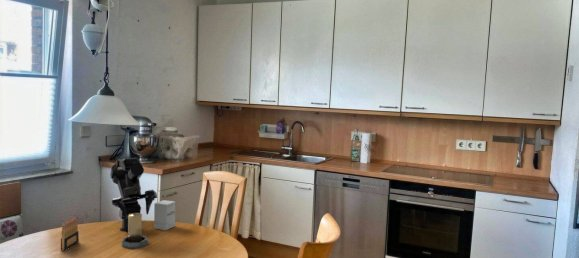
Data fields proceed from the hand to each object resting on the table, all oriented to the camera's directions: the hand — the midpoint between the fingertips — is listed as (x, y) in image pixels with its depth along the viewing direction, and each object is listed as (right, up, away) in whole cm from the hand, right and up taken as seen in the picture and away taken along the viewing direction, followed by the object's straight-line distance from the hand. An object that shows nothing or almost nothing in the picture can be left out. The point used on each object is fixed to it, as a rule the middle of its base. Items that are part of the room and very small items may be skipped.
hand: (136, 216), depth 192 cm
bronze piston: (+1, -10, -6) cm, 12 cm away
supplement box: (+7, -9, +19) cm, 22 cm away
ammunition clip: (-25, -11, -10) cm, 29 cm away
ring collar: (+1, -11, -6) cm, 12 cm away
